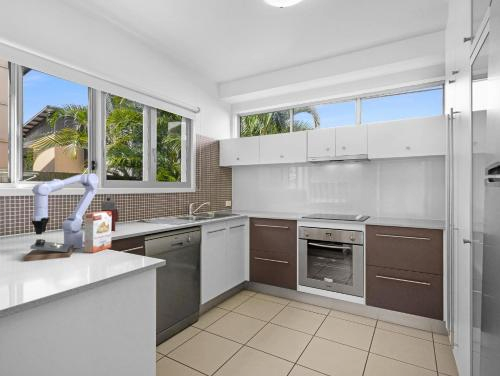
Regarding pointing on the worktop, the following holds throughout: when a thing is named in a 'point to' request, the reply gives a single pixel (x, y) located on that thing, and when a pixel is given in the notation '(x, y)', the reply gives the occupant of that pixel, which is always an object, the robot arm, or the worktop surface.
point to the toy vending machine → (111, 207)
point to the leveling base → (47, 254)
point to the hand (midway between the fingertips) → (40, 233)
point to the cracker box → (97, 231)
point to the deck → (50, 246)
